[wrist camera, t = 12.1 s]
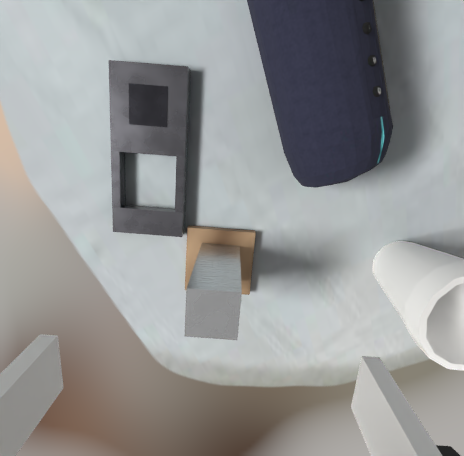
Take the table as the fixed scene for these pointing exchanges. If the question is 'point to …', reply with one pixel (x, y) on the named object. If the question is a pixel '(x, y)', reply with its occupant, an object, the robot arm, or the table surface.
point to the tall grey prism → (214, 293)
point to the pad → (225, 237)
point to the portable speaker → (325, 85)
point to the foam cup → (426, 297)
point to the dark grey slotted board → (148, 138)
